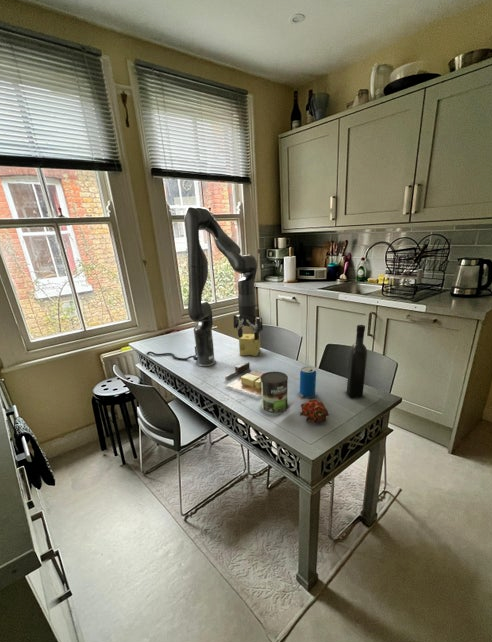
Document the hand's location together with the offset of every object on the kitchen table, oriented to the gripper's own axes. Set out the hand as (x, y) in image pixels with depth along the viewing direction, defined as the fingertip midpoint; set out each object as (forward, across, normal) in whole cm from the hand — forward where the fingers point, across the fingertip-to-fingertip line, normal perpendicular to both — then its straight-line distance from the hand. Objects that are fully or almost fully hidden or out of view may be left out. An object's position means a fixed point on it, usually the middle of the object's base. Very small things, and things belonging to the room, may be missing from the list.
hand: (248, 338), depth 145 cm
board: (+19, -7, +6) cm, 22 cm away
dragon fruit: (+19, -41, +20) cm, 50 cm away
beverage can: (+19, -32, +4) cm, 37 cm away
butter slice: (+18, -11, +9) cm, 23 cm away
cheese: (+20, +17, -26) cm, 37 cm away
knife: (+20, +5, +3) cm, 20 cm away
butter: (+18, -6, +8) cm, 20 cm away
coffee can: (+19, -25, +20) cm, 38 cm away
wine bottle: (+19, -49, -5) cm, 53 cm away
